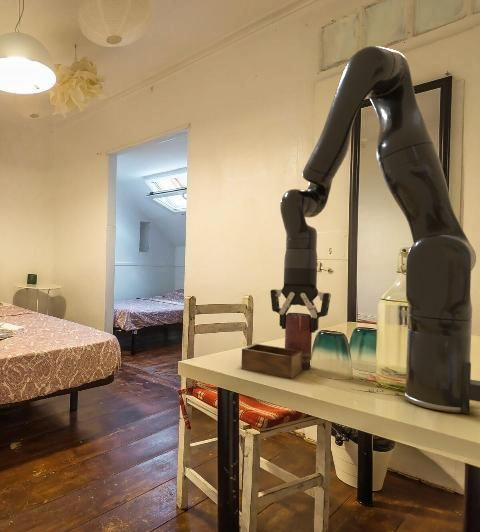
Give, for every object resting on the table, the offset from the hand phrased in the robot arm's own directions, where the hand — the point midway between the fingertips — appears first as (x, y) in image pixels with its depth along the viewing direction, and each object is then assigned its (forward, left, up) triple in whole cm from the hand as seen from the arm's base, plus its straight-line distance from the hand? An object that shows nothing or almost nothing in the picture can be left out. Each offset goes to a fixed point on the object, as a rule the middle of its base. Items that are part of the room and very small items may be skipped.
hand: (298, 330), depth 103 cm
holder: (+4, +8, -10) cm, 13 cm away
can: (0, 0, -10) cm, 10 cm away
